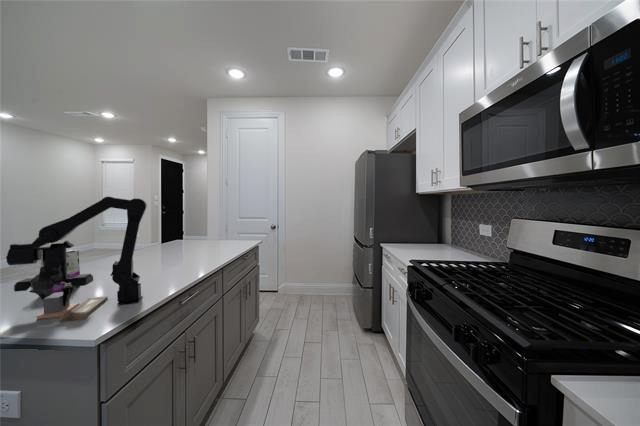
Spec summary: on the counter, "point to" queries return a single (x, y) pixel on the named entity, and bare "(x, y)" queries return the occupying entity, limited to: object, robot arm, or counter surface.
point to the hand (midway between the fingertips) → (57, 306)
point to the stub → (55, 306)
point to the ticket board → (84, 309)
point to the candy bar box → (68, 268)
